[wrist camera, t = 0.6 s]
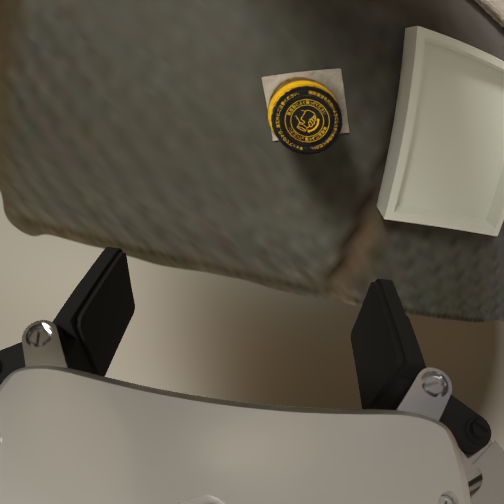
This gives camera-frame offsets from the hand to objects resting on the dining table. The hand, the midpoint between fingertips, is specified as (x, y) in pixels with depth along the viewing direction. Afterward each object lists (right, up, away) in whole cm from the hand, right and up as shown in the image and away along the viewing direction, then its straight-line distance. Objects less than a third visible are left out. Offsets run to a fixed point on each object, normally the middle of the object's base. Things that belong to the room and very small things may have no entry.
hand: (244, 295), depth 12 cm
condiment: (+6, +17, +20) cm, 27 cm away
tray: (+25, +16, +19) cm, 35 cm away
